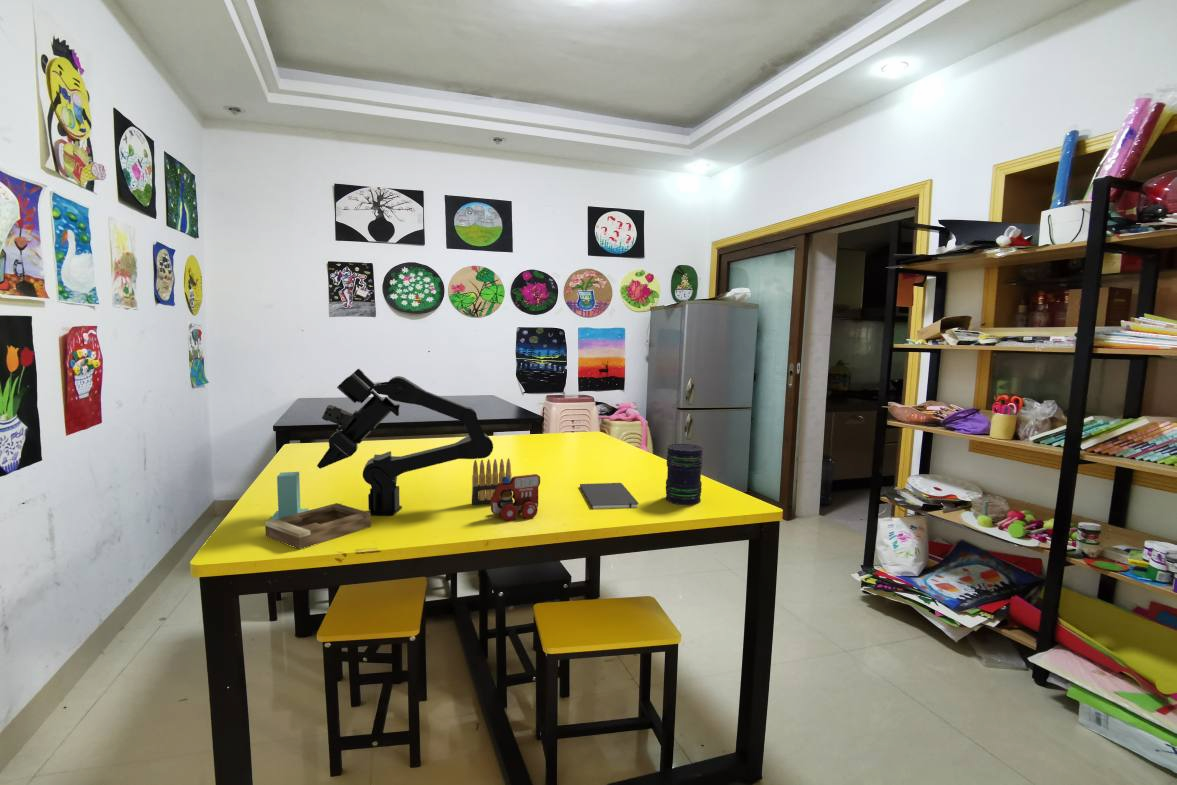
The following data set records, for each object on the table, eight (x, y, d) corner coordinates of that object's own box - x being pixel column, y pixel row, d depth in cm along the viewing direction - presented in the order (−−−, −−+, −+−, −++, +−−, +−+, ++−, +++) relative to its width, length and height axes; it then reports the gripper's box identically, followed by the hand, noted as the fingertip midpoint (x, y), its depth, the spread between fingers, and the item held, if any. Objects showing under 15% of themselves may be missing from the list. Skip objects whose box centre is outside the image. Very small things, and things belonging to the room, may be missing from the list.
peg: (308, 513, 138) (307, 469, 137) (303, 522, 131) (301, 476, 130) (276, 515, 135) (275, 471, 134) (270, 525, 129) (268, 478, 128)
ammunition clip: (472, 505, 146) (472, 460, 145) (471, 503, 148) (471, 459, 147) (512, 502, 150) (512, 458, 148) (511, 500, 151) (511, 457, 150)
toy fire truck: (487, 514, 139) (487, 473, 138) (534, 509, 144) (535, 470, 143) (494, 523, 133) (494, 480, 132) (543, 517, 138) (543, 476, 137)
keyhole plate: (336, 516, 136) (336, 503, 135) (370, 526, 129) (370, 512, 128) (265, 536, 121) (265, 522, 121) (299, 549, 114) (299, 534, 114)
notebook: (579, 488, 166) (592, 511, 145) (579, 483, 166) (592, 505, 145) (621, 487, 168) (639, 509, 147) (621, 482, 168) (639, 503, 147)
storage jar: (668, 505, 150) (670, 450, 148) (662, 494, 160) (664, 443, 158) (705, 505, 150) (707, 451, 149) (696, 495, 160) (698, 444, 158)
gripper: (347, 390, 143) (301, 433, 141) (338, 398, 125) (285, 448, 123) (380, 419, 146) (336, 462, 144) (376, 431, 128) (326, 480, 126)
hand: (321, 462), depth 134 cm, fingers open, 9 cm apart
